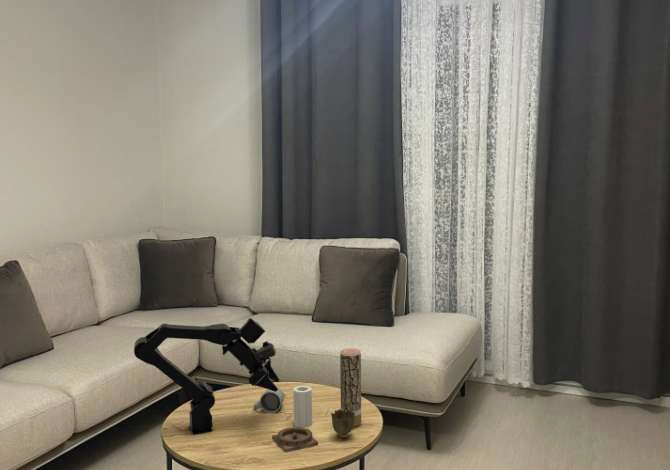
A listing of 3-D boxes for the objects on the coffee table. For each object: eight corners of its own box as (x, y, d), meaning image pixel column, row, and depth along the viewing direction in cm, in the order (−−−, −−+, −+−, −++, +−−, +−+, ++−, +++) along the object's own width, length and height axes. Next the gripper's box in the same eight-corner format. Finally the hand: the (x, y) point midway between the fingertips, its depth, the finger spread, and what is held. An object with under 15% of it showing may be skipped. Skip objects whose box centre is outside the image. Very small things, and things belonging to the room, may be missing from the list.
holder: (285, 452, 205) (284, 443, 205) (272, 438, 215) (272, 430, 215) (318, 444, 210) (317, 436, 210) (303, 432, 220) (303, 423, 219)
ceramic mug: (285, 404, 244) (284, 384, 243) (281, 413, 235) (280, 392, 235) (256, 404, 245) (255, 384, 244) (251, 413, 237) (250, 392, 236)
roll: (302, 428, 222) (302, 393, 221) (290, 423, 226) (289, 389, 225) (315, 423, 227) (315, 388, 225) (303, 418, 231) (302, 384, 229)
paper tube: (359, 429, 222) (358, 355, 218) (339, 427, 223) (338, 354, 220) (362, 420, 228) (362, 348, 225) (343, 419, 230) (342, 348, 226)
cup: (341, 430, 221) (341, 406, 220) (359, 436, 216) (359, 412, 215) (326, 438, 215) (326, 414, 214) (345, 444, 210) (344, 419, 209)
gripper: (258, 344, 213) (294, 378, 215) (263, 329, 232) (295, 360, 233) (234, 369, 214) (269, 402, 216) (240, 351, 232) (273, 382, 234)
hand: (277, 385), depth 225 cm, fingers open, 9 cm apart
